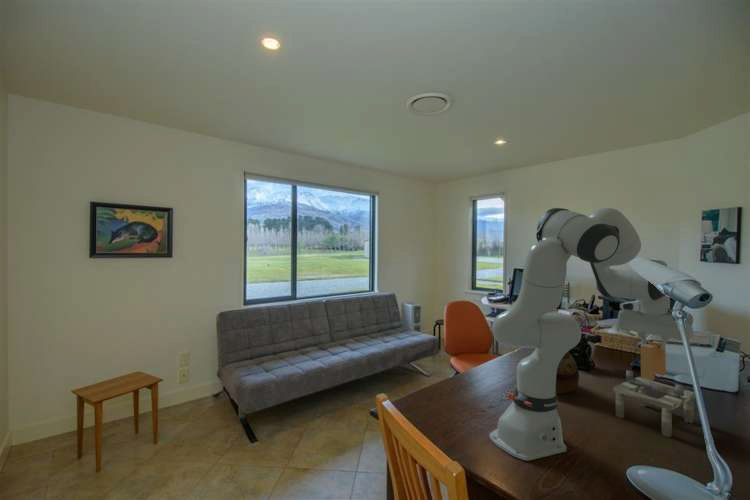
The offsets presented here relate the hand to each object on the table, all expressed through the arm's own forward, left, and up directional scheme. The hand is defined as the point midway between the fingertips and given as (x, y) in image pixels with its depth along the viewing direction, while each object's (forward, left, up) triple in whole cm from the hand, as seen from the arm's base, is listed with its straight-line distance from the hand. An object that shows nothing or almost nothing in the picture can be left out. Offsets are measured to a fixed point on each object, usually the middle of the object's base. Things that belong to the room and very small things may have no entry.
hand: (653, 347), depth 111 cm
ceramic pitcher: (-6, +33, -25) cm, 42 cm away
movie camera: (+28, +47, -25) cm, 60 cm away
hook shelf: (0, 0, -25) cm, 25 cm away
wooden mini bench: (0, 0, -10) cm, 10 cm away
